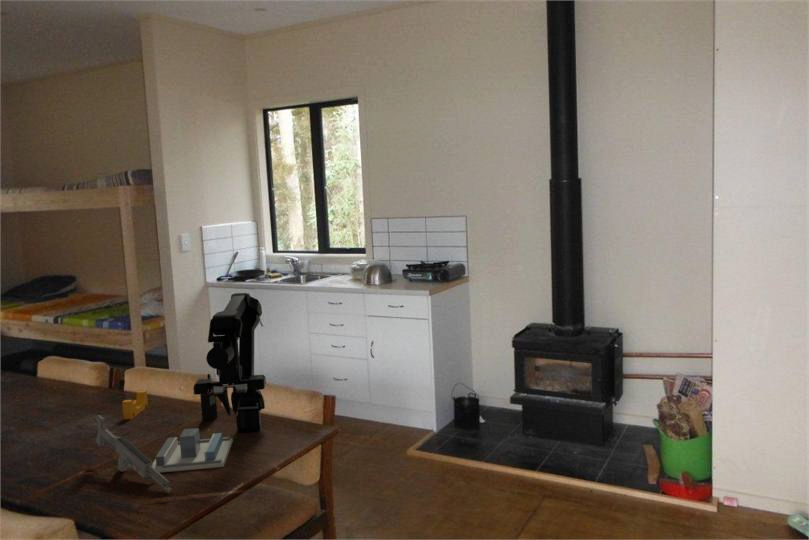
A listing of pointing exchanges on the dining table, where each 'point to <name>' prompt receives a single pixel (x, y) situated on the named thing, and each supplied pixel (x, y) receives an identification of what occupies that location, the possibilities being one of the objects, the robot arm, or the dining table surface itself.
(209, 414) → the walkie-talkie
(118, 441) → the gun
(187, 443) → the steel block
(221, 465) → the vise bed
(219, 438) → the vise free jaw
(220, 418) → the dining table surface
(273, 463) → the dining table surface
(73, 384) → the dining table surface
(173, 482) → the dining table surface
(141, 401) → the pipe clamp
